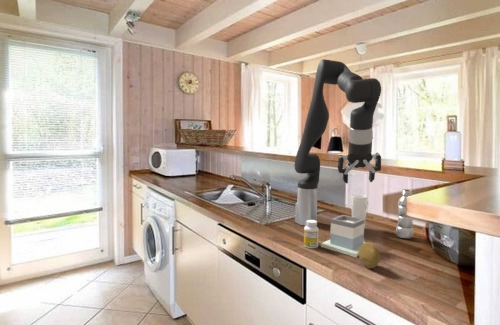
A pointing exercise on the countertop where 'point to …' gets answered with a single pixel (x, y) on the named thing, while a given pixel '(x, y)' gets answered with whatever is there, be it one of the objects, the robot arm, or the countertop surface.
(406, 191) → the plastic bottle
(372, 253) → the potato
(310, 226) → the supplement bottle
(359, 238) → the brick tower
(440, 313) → the countertop surface
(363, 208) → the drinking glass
